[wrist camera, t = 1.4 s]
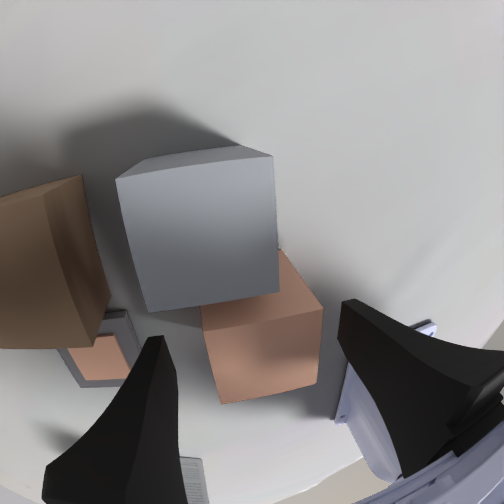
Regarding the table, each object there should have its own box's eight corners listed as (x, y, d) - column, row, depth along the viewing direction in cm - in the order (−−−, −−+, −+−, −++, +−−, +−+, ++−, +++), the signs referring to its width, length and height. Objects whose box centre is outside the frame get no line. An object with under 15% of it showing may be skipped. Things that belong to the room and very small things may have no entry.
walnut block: (111, 293, 13) (93, 347, 10) (22, 303, 12) (-8, 348, 9) (82, 173, 11) (42, 195, 7) (-11, 200, 10) (-58, 227, 6)
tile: (153, 376, 16) (152, 386, 15) (82, 380, 15) (80, 389, 14) (126, 310, 13) (124, 320, 13) (48, 319, 13) (43, 328, 12)
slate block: (248, 234, 13) (279, 291, 9) (160, 247, 13) (148, 313, 8) (240, 144, 12) (273, 156, 7) (144, 158, 11) (114, 178, 6)
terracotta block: (283, 316, 16) (316, 383, 11) (209, 329, 15) (221, 404, 11) (281, 249, 14) (323, 308, 9) (196, 262, 13) (202, 331, 9)
